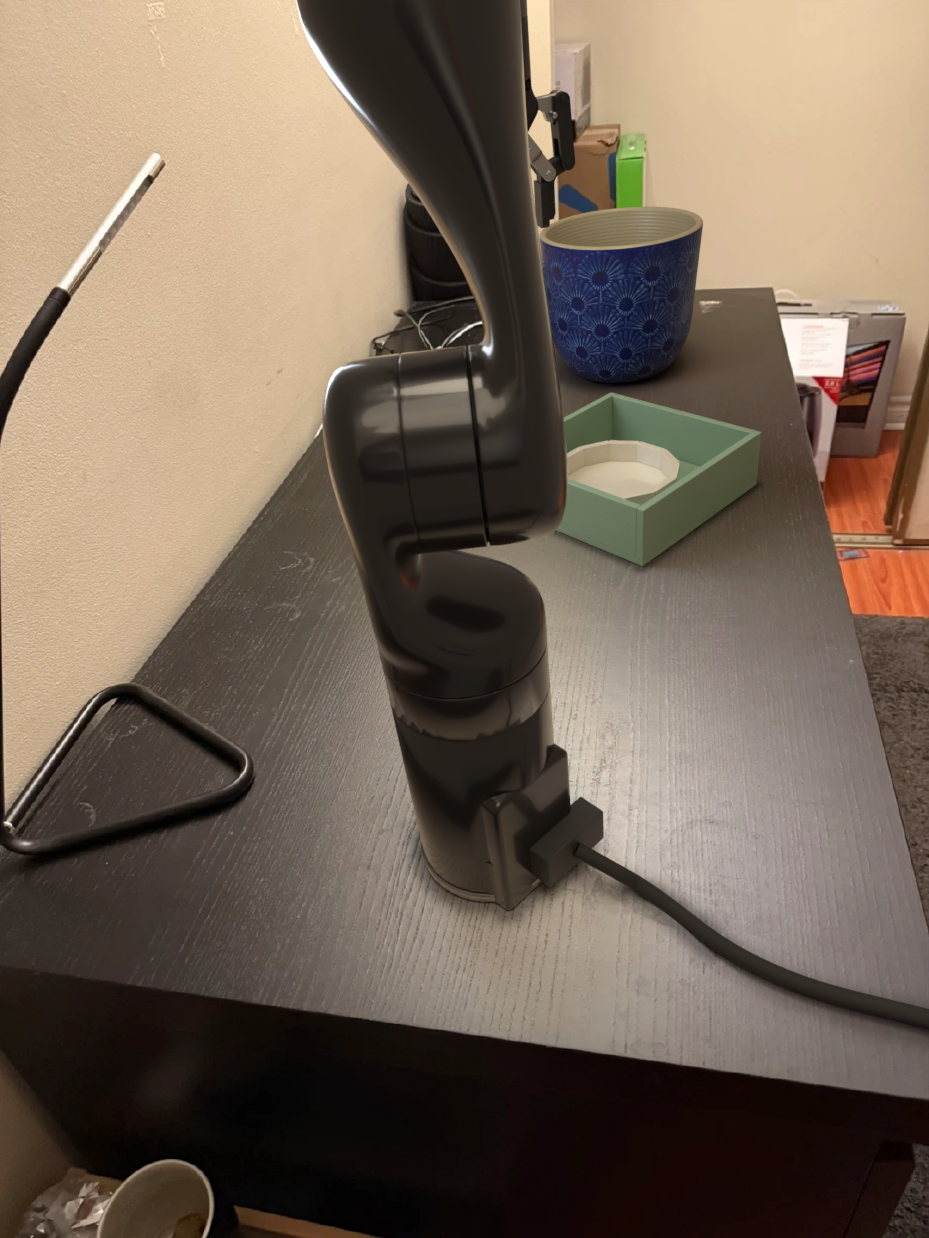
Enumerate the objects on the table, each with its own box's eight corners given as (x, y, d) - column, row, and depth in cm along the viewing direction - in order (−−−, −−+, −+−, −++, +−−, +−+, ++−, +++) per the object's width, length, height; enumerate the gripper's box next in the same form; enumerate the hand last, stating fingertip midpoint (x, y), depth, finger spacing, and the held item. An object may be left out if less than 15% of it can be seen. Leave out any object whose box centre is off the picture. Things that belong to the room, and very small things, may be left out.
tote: (756, 484, 90) (762, 431, 86) (642, 566, 80) (643, 511, 76) (611, 440, 102) (611, 392, 99) (497, 506, 92) (492, 455, 89)
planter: (553, 347, 130) (547, 213, 118) (692, 340, 125) (699, 200, 114) (540, 402, 114) (531, 253, 102) (698, 396, 109) (707, 240, 98)
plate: (702, 485, 90) (704, 460, 88) (625, 537, 83) (625, 511, 82) (606, 454, 98) (606, 430, 96) (530, 499, 92) (528, 475, 90)
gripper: (400, 31, 64) (429, 256, 73) (580, 4, 65) (586, 229, 75) (386, 30, 70) (415, 239, 79) (552, 5, 71) (560, 213, 81)
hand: (498, 234), depth 77 cm, fingers open, 8 cm apart
